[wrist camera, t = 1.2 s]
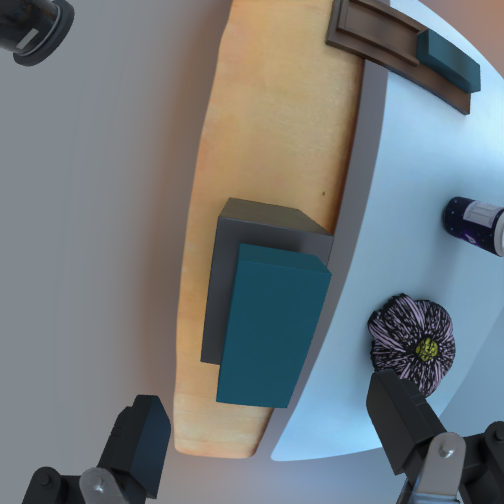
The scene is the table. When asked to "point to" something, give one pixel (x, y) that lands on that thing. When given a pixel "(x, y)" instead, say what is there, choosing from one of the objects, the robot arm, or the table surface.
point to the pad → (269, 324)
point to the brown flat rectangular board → (404, 49)
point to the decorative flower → (413, 341)
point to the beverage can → (476, 223)
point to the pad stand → (259, 234)
